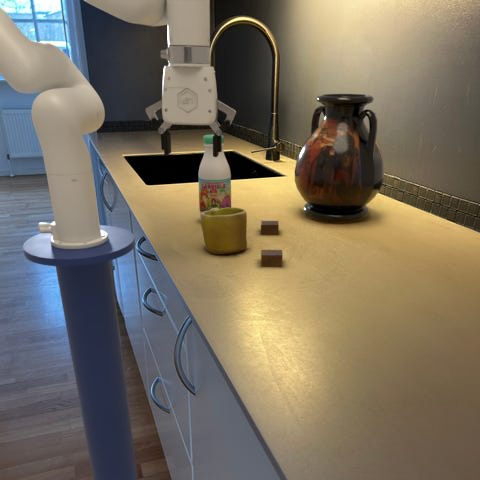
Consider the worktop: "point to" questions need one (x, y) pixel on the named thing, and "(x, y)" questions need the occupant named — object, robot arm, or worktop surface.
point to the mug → (224, 230)
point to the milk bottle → (214, 179)
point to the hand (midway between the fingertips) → (191, 155)
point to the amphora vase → (340, 160)
